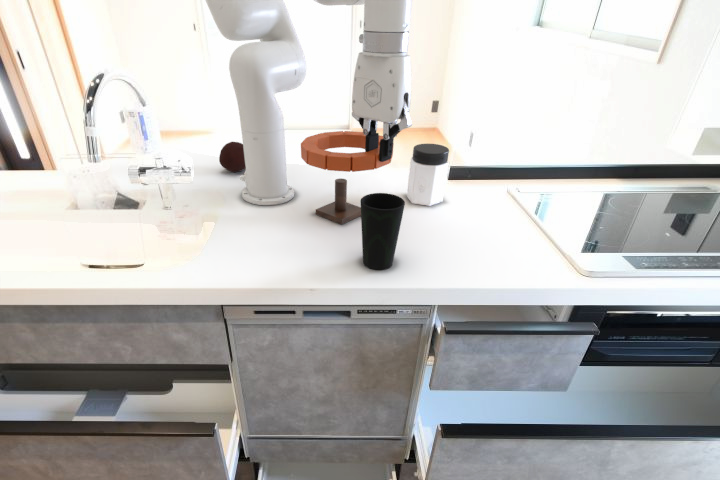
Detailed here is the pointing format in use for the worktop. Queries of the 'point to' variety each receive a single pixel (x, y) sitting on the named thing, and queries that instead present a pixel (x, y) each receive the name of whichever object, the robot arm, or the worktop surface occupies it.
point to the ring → (320, 158)
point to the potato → (232, 157)
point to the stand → (339, 206)
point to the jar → (428, 174)
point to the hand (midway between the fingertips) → (378, 157)
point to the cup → (380, 228)
